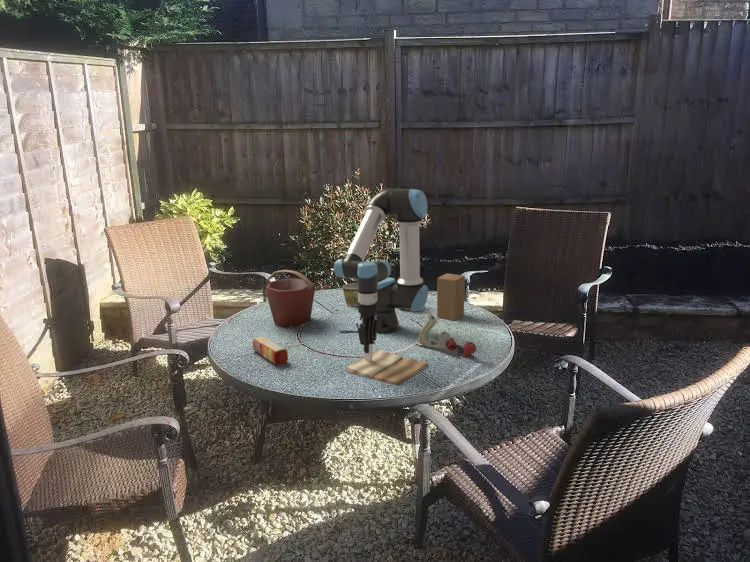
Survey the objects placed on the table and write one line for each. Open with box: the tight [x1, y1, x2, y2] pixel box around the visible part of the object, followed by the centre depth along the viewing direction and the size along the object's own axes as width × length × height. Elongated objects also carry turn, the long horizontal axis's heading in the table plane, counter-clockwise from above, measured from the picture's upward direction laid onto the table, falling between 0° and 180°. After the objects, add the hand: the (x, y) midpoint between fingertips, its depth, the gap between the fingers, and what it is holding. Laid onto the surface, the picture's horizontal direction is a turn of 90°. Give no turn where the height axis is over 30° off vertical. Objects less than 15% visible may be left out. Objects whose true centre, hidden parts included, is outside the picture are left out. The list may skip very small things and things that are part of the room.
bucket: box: [265, 269, 316, 328], centre depth 300 cm, size 24×22×25 cm
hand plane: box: [415, 313, 478, 361], centre depth 260 cm, size 7×31×15 cm, turn 42°
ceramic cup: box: [342, 283, 359, 307], centre depth 327 cm, size 13×10×10 cm
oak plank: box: [374, 357, 428, 386], centre depth 241 cm, size 10×22×2 cm, turn 146°
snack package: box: [252, 335, 289, 366], centre depth 259 cm, size 21×7×7 cm, turn 35°
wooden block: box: [436, 272, 466, 321], centre depth 304 cm, size 10×10×20 cm
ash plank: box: [345, 348, 404, 379], centre depth 247 cm, size 13×22×2 cm, turn 146°
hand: (368, 359), depth 248 cm, fingers closed
